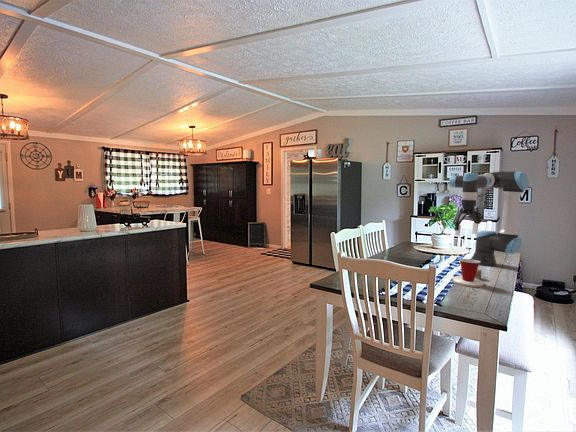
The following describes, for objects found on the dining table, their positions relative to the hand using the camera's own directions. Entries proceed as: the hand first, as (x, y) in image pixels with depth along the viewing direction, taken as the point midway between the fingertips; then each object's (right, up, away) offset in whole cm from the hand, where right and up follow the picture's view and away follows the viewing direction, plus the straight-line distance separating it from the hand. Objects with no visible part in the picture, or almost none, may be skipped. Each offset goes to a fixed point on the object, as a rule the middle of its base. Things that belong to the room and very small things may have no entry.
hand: (466, 234), depth 203 cm
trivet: (-2, -27, -6) cm, 28 cm away
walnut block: (+7, -26, +4) cm, 27 cm away
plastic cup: (-2, -26, -6) cm, 27 cm away
